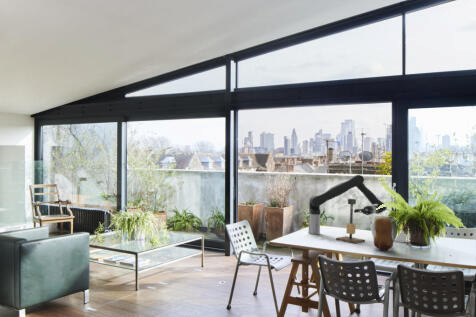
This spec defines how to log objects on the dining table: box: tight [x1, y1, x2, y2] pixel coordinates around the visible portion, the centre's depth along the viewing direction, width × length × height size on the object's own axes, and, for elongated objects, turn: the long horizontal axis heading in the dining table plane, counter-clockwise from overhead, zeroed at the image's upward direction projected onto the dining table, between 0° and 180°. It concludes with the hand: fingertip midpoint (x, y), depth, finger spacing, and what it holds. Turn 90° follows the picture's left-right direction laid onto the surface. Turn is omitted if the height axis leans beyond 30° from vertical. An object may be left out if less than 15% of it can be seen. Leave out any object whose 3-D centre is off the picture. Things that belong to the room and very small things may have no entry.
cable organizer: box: [394, 231, 406, 243], centre depth 348 cm, size 15×11×12 cm
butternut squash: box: [373, 216, 394, 252], centre depth 311 cm, size 14×13×25 cm
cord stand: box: [335, 198, 366, 244], centre depth 344 cm, size 18×14×34 cm
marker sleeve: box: [345, 222, 357, 235], centre depth 344 cm, size 5×5×8 cm
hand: (358, 211), depth 350 cm, fingers open, 8 cm apart
